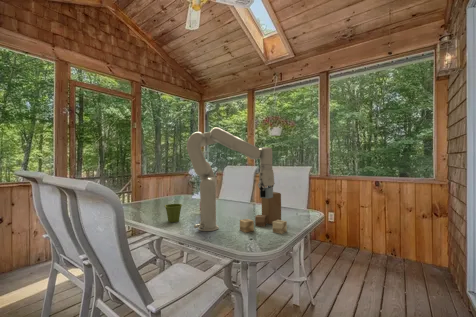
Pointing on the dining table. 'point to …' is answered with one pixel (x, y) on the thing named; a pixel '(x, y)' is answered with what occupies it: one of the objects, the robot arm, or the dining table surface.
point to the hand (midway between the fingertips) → (266, 196)
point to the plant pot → (173, 212)
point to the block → (272, 207)
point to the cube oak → (246, 225)
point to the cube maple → (279, 226)
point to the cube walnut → (261, 220)
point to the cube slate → (268, 192)
